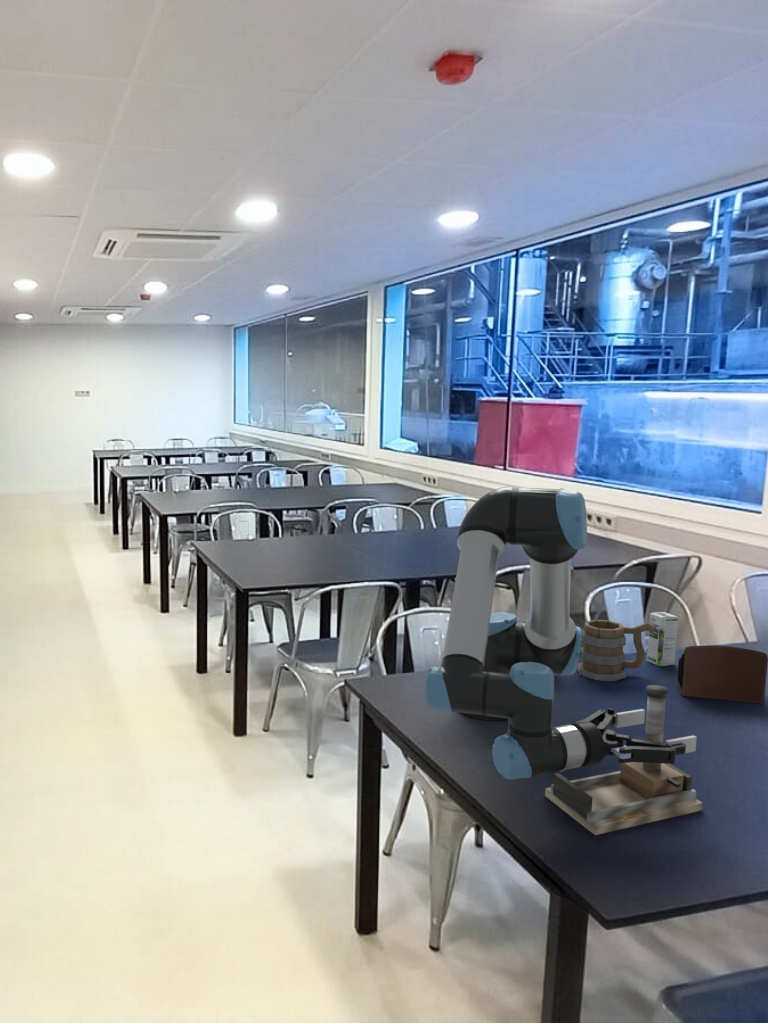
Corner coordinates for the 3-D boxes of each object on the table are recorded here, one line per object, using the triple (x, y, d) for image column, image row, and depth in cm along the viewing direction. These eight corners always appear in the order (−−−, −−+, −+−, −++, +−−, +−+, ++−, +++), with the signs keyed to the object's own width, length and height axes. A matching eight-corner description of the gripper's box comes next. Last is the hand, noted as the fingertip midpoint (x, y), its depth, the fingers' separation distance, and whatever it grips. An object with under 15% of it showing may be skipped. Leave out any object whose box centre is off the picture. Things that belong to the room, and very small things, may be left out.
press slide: (662, 808, 145) (669, 703, 142) (619, 780, 155) (626, 682, 152) (692, 801, 147) (699, 698, 145) (648, 774, 158) (655, 678, 155)
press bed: (595, 835, 138) (596, 805, 138) (544, 795, 152) (546, 768, 151) (701, 810, 148) (703, 782, 147) (645, 775, 162) (647, 749, 161)
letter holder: (764, 705, 202) (769, 650, 201) (681, 696, 207) (685, 643, 205) (756, 691, 212) (760, 639, 210) (676, 684, 217) (680, 633, 215)
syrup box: (645, 660, 236) (648, 612, 234) (662, 659, 238) (665, 611, 236) (658, 666, 230) (662, 617, 228) (675, 665, 232) (679, 616, 230)
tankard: (580, 679, 218) (583, 625, 216) (575, 665, 230) (578, 614, 228) (656, 684, 215) (660, 630, 213) (647, 669, 228) (651, 618, 226)
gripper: (534, 738, 156) (622, 723, 164) (619, 797, 133) (717, 776, 141) (536, 701, 155) (625, 688, 163) (622, 753, 132) (720, 735, 140)
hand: (668, 729), depth 152 cm, fingers open, 13 cm apart
